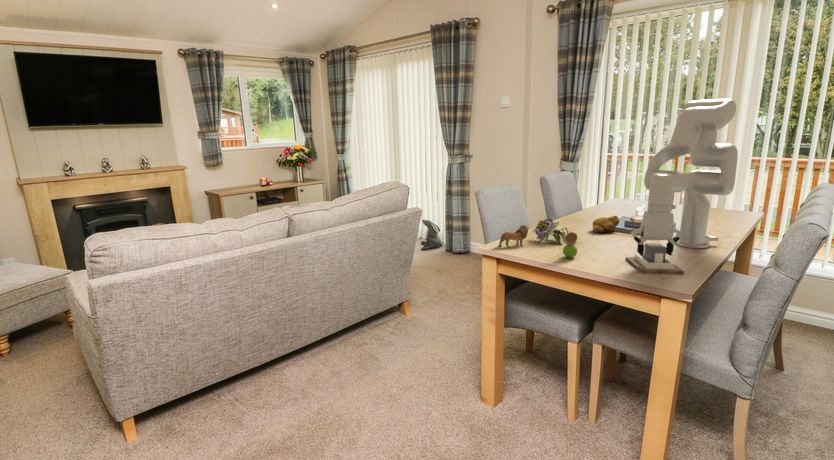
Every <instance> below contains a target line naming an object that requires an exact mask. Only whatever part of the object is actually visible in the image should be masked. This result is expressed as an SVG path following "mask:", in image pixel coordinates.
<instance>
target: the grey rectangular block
mask: <svg viewBox="0 0 834 460" xmlns="http://www.w3.org/2000/svg"><path fill="white" fill-rule="evenodd" d="M666 254H667V253H666V246H665V245H663V244H662V243H660V242H659V243H658V242H657V243H656V242H644V259H645V260H647V261H648V262H649V263H665V258H666V256H667V255H666Z"/></svg>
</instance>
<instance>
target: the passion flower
mask: <svg viewBox="0 0 834 460" xmlns="http://www.w3.org/2000/svg"><path fill="white" fill-rule="evenodd" d="M554 219H555V217H554V216H551V217H550V218H546V219H541V220H539V221H538V223H537V224H536V226H535V229H532V233H535V235H537V236H536V240H538V243H541V242H543V241H544V242H546V241H548V239H549V236H553V238H554V239H555V241H556V243H557V245H561V242H562V241H563V236H562V231H563V230H562V228H561V229H558V226H559V225H560V222H559V221H556V222H554ZM563 229H564V230H566V234H568V233H569V230H568V228H567V227H565V228H563ZM563 242H564V241H563ZM564 243H565V242H564Z"/></svg>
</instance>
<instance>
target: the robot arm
mask: <svg viewBox="0 0 834 460" xmlns="http://www.w3.org/2000/svg"><path fill="white" fill-rule="evenodd" d="M736 112H737V104H736V102H735V100H733V99H732V98H717V99H698V100H690V101H687V102H685V104H683V106H682V111H680V113H679V115H678V117H677V120H676V124H675V126H674V130H673V132H672V135H671V139H670V140H669V141H670V142H669V143H668V144H667V145H666V146H664V147H663V148H662V149H661V148H660V150H659V151H657V153H655V155H653V156H652V158H651V159H650V161H649V163H648V166H647V169H646V172H645V174H644V179H643V185H644V187H645V188H646V189H648V197H647V198H648V200H647V208H646V209H647V210H645V211H644V213H643V215H642V219H641V223H640V227H639V228H637V229H634V230H632V231H630V234H631V236H632V238H633V240H634V241H635V242H636V243H637V249H636V251H637V254H640V255H643V254H644V249H645V243H646V242H647V241H651V240H652V241H653V240H655V241H668V242H666V246H665V247H666V254H667V255H668V256H672V255H673V253H674V247H675V245H677V246H680V247H684V248H690V249H706V248H709V247H710V242H718V241H719V237H718V236H712V235H708V234H707V231H708V223H709V217H710V209H711V204H710V200H709V199H708V197H707V196H706V195H715V196H727V195H731V194H732V192H733V191H734V187H735V184H736V174H737V167H738V158H739V154H738V153H739V152H738V148H737V146H736V145H734V144H732V143H722V142H721V143H719V142H717V138H718V131H719V130H721V129H723V128H725V126H726V125H728V124H729V123H730V122H731V121H732V120H733V119H734V117H735V115H736ZM687 154H689V163H690V164H691V166H693V167H698V168H712V169H713V168H715V169H716V168H717V169H720V170H709V169H707V170H706V169H692V170H690V171H687V172H684V171H678V170H667V169H666V170H665V169H660V168H661V167H662V166H663V165H664V164H665V163H667V162H669V161H671V160H674V159H676V158H677V159H678V158H679V157H682V156H685V155H687ZM682 192H683V203H682V211H681V212H682V213H681V220H680V221H681V222H680V226H679V227H680V229H676V228H675V220H674V219H675V218H674V211H673V210H674V209H677V206H676V204H673V199H674V193H682ZM674 233H675V234H676V235H675V236H674ZM638 234H639V236H640V237H638Z"/></svg>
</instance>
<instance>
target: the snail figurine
mask: <svg viewBox="0 0 834 460" xmlns="http://www.w3.org/2000/svg"><path fill="white" fill-rule="evenodd" d="M561 229H562V230H561V232H562V236H563V239H562V241H564V243H565V245H564V246H563V248H562V253H563V256H564V257H566V258H568V259H569V258H570V259H571V258H574V257H576V256H577V255H578V248H577V246H575V244H577V242H578V241H577V240H578V235H577V233H576V232H574V231H570V232H568V233H567V231H564V230H565V229H564V228H561Z"/></svg>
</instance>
